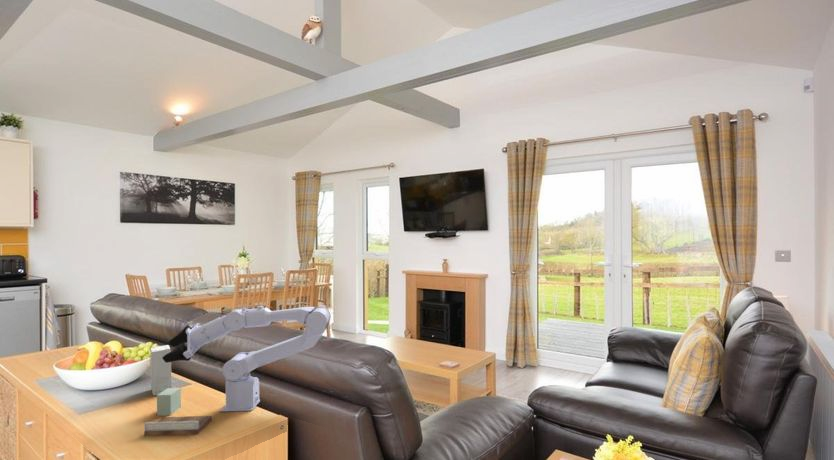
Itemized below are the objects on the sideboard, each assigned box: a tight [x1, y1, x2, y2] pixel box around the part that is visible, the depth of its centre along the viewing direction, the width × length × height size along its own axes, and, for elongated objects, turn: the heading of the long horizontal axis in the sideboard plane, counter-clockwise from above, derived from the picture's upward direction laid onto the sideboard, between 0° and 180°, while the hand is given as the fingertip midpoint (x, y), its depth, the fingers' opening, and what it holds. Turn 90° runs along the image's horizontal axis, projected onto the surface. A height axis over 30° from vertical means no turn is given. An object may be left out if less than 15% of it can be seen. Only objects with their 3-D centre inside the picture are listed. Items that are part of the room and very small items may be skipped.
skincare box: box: [149, 344, 173, 396], centre depth 152 cm, size 8×6×15 cm
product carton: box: [156, 387, 182, 416], centre depth 134 cm, size 4×6×6 cm
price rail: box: [143, 421, 199, 431], centre depth 118 cm, size 14×1×2 cm, turn 92°
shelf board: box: [143, 415, 213, 437], centre depth 123 cm, size 14×9×1 cm, turn 92°
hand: (167, 351), depth 136 cm, fingers open, 7 cm apart
